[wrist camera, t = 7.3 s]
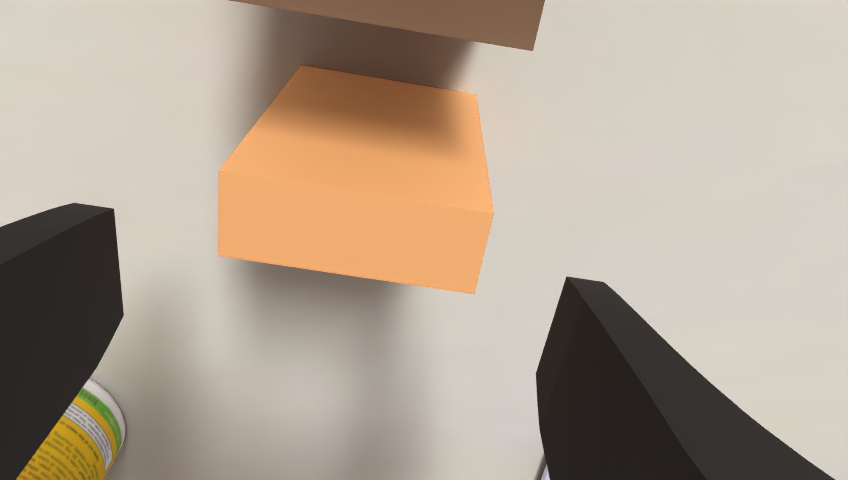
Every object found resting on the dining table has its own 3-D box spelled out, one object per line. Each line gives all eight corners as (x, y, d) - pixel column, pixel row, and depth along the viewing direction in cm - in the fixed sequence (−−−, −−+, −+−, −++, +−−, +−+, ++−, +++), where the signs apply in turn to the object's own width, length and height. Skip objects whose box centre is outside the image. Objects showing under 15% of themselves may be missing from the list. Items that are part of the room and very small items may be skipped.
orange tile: (464, 152, 19) (474, 294, 13) (296, 125, 19) (218, 255, 12) (476, 94, 18) (493, 213, 12) (300, 65, 18) (218, 170, 11)
